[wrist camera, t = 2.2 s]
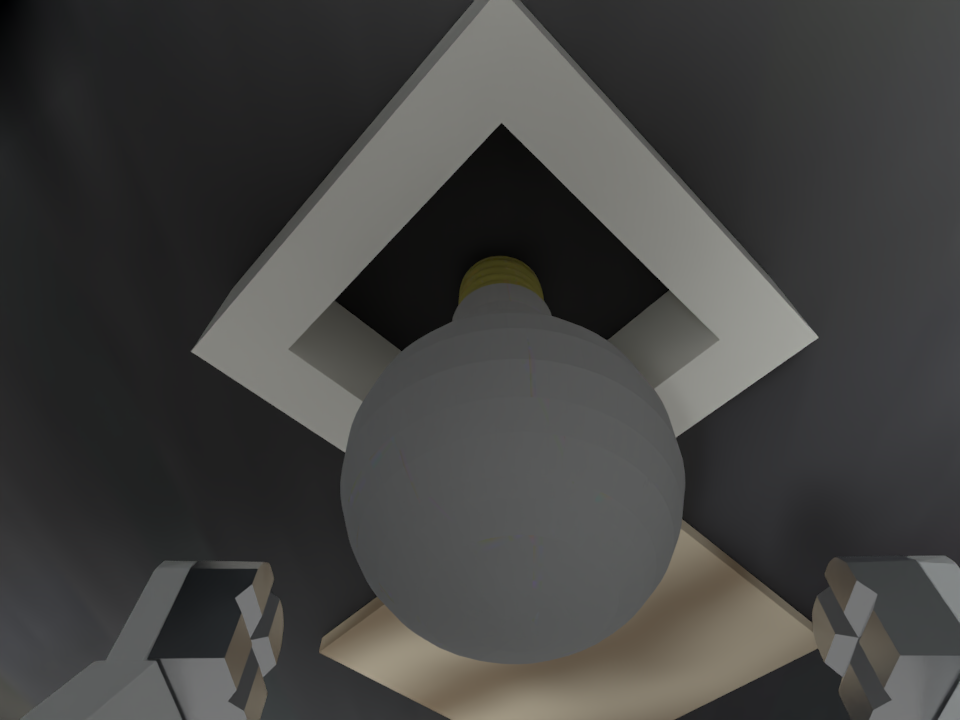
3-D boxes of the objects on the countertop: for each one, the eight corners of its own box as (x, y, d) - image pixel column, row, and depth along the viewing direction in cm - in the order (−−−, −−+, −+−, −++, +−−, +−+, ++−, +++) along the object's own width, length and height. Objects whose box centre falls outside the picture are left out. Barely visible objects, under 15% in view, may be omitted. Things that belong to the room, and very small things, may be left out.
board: (322, 637, 25) (318, 652, 25) (584, 441, 20) (587, 455, 20) (560, 761, 30) (561, 775, 30) (820, 629, 25) (827, 643, 24)
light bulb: (561, 136, 15) (663, 405, 7) (635, 327, 18) (772, 686, 10) (351, 232, 16) (219, 558, 8) (450, 397, 19) (428, 769, 11)
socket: (232, 288, 17) (190, 351, 15) (496, -26, 13) (500, -13, 11) (501, 480, 21) (504, 557, 18) (768, 275, 17) (818, 337, 15)
